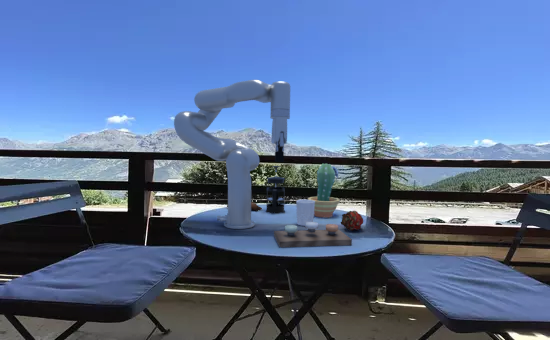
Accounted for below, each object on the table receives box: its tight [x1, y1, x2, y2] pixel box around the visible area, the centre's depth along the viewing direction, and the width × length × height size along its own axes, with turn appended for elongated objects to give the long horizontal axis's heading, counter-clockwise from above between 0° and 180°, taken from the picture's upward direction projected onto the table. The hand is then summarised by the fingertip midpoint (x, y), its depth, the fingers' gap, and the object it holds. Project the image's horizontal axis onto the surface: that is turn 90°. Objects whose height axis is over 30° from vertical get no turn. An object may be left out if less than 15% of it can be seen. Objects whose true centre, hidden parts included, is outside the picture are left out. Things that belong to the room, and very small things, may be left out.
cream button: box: [304, 221, 319, 233], centre depth 116 cm, size 4×4×3 cm
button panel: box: [273, 228, 353, 248], centre depth 116 cm, size 25×13×2 cm, turn 99°
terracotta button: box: [325, 223, 339, 235], centre depth 117 cm, size 4×4×3 cm
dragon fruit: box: [340, 210, 364, 232], centre depth 132 cm, size 8×8×12 cm
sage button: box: [284, 224, 298, 236], centre depth 115 cm, size 4×4×3 cm
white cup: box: [295, 199, 315, 227], centre depth 140 cm, size 8×8×10 cm
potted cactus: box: [307, 163, 341, 218], centre depth 157 cm, size 15×15×25 cm
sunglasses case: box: [226, 201, 263, 212], centre depth 171 cm, size 18×7×7 cm
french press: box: [265, 165, 286, 214], centre depth 163 cm, size 12×9×23 cm
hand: (279, 161), depth 128 cm, fingers closed
